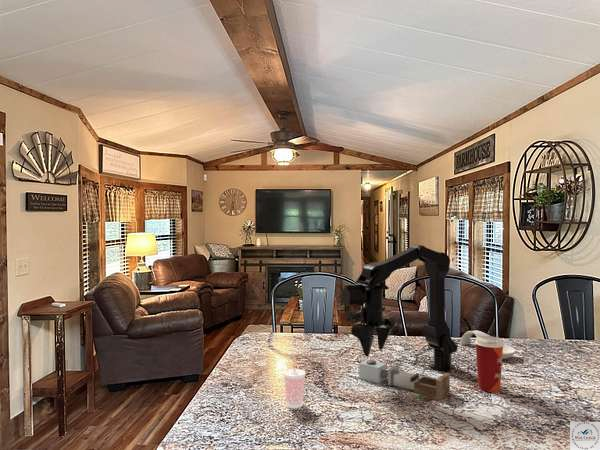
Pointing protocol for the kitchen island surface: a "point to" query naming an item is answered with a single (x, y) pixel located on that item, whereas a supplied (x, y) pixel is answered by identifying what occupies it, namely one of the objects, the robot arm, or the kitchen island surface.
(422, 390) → the housing
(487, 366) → the coffee cup
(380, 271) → the robot arm
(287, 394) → the beverage cup
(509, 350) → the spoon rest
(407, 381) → the metal-capped square post
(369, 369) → the block with dome knob
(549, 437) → the kitchen island surface
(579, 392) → the kitchen island surface
